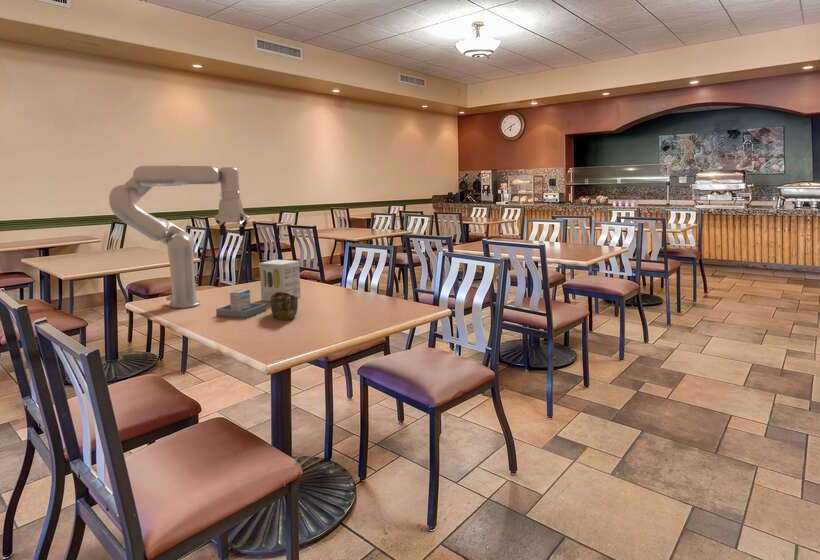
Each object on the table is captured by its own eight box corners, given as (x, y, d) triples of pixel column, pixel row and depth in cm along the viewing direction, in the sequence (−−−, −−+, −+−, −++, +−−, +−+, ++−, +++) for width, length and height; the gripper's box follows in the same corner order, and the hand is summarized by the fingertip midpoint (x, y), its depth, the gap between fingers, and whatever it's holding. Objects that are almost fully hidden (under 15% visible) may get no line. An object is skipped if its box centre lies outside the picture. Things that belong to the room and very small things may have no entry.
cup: (259, 322, 200) (258, 296, 198) (275, 311, 219) (274, 287, 218) (292, 323, 199) (291, 297, 197) (305, 311, 219) (305, 288, 217)
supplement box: (260, 300, 240) (258, 262, 237) (278, 295, 252) (276, 259, 249) (284, 302, 235) (282, 264, 232) (301, 297, 247) (299, 260, 244)
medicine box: (240, 314, 210) (239, 293, 209) (230, 313, 211) (229, 292, 210) (251, 309, 218) (250, 289, 216) (241, 309, 219) (240, 288, 217)
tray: (216, 316, 210) (216, 309, 209) (237, 308, 223) (237, 301, 222) (246, 318, 206) (246, 311, 205) (266, 311, 219) (265, 304, 218)
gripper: (208, 196, 226) (210, 235, 229) (242, 196, 221) (244, 236, 224) (219, 195, 233) (221, 234, 236) (252, 196, 229) (254, 235, 232)
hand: (232, 235), depth 230 cm, fingers open, 9 cm apart
